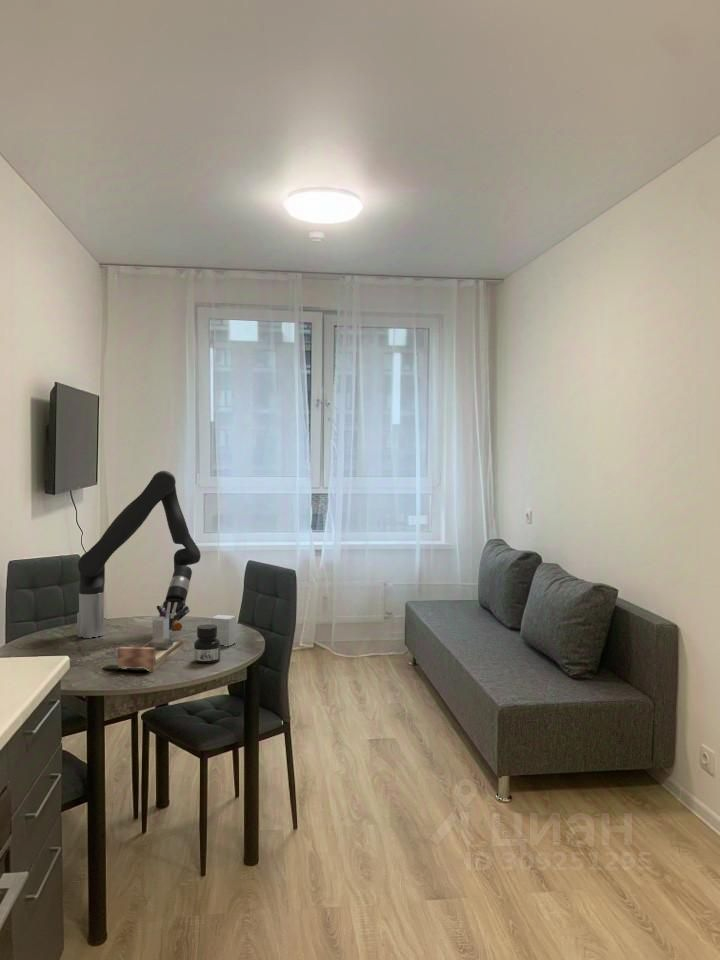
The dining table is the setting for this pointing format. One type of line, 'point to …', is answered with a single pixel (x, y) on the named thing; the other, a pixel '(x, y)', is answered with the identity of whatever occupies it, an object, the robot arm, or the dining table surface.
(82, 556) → the robot arm
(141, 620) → the dining table surface
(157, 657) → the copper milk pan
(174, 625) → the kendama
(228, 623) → the small box
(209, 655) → the ink bottle
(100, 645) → the dining table surface
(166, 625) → the block
